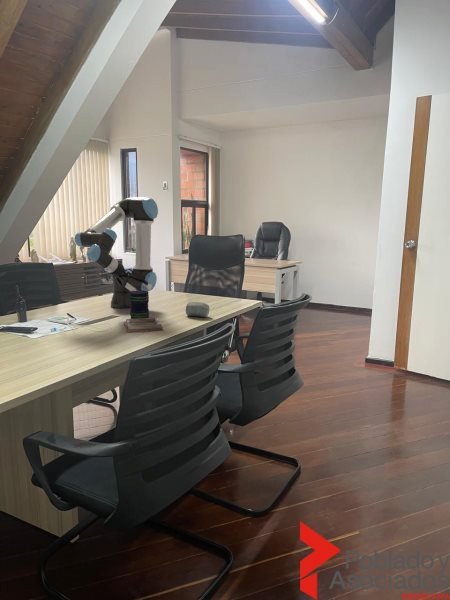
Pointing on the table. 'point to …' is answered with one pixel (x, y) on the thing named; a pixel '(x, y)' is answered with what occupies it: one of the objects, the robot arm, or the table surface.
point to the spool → (197, 309)
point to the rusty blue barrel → (139, 304)
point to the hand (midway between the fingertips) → (142, 289)
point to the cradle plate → (143, 325)
